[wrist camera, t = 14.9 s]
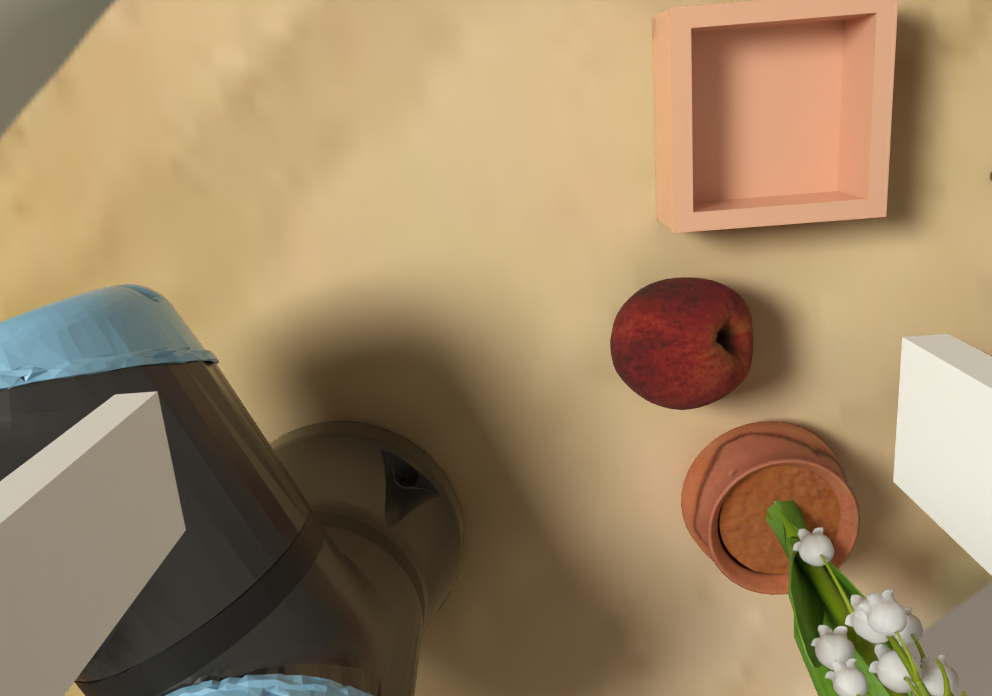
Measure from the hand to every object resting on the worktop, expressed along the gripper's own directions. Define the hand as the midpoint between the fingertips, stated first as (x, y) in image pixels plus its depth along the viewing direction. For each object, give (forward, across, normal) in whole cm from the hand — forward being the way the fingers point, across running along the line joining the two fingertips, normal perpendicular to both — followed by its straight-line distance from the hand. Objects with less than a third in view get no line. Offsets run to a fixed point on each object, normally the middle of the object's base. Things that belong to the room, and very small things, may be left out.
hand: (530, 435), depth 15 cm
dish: (+35, +14, +4) cm, 38 cm away
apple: (+35, +9, -8) cm, 37 cm away
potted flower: (+35, +14, -18) cm, 42 cm away
